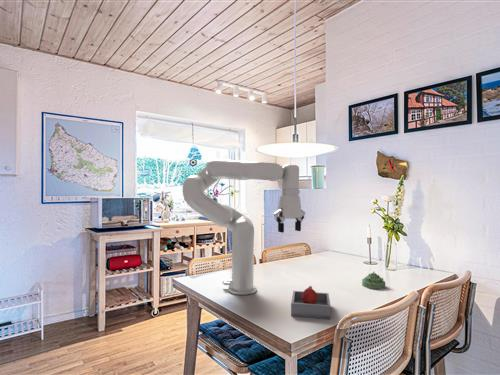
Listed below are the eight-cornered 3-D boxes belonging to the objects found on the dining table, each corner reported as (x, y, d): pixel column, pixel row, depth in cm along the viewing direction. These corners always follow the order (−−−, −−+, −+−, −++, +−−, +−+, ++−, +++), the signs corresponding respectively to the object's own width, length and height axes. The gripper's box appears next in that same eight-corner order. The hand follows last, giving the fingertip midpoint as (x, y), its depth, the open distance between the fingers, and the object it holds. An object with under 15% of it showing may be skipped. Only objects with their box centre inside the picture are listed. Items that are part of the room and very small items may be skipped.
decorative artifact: (357, 283, 149) (371, 290, 139) (358, 269, 149) (371, 275, 139) (375, 282, 152) (390, 289, 142) (375, 268, 152) (390, 273, 142)
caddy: (291, 315, 111) (291, 303, 111) (293, 302, 124) (293, 290, 124) (330, 319, 108) (330, 306, 108) (328, 304, 122) (328, 293, 122)
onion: (303, 310, 113) (304, 288, 113) (300, 304, 119) (300, 283, 119) (319, 310, 113) (319, 288, 113) (315, 304, 119) (315, 283, 119)
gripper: (299, 192, 146) (298, 229, 146) (269, 192, 137) (268, 231, 137) (310, 193, 140) (309, 231, 140) (280, 192, 130) (279, 233, 130)
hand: (289, 231), depth 138 cm, fingers open, 9 cm apart
